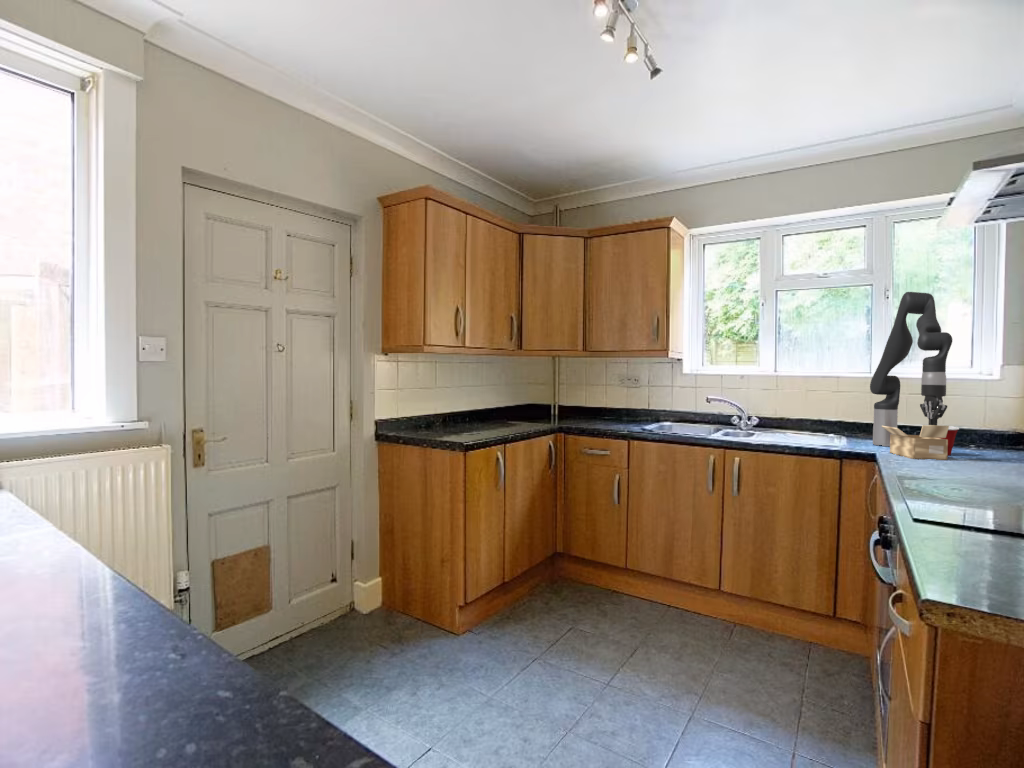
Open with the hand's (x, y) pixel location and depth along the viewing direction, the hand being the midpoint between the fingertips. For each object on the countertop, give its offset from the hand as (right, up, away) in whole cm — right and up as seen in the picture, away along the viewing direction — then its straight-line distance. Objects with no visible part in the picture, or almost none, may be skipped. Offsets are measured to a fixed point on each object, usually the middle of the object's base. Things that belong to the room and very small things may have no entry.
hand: (932, 428), depth 204 cm
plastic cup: (+17, -13, +16) cm, 26 cm away
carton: (0, -12, +8) cm, 15 cm away
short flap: (0, -1, -1) cm, 1 cm away
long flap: (-7, -2, +10) cm, 13 cm away
